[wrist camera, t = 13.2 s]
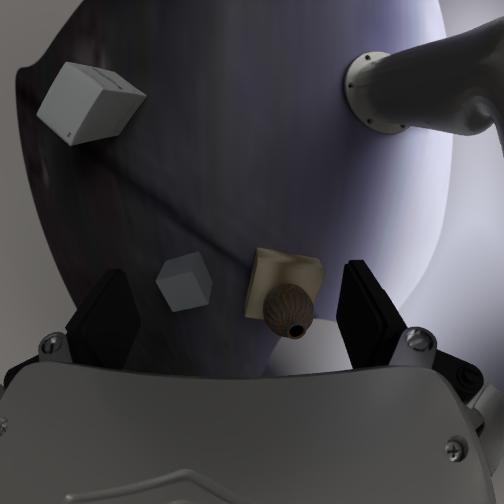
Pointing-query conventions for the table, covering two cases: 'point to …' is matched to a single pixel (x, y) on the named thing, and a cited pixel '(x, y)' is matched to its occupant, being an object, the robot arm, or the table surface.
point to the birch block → (280, 277)
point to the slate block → (185, 282)
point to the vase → (288, 310)
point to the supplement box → (88, 104)
